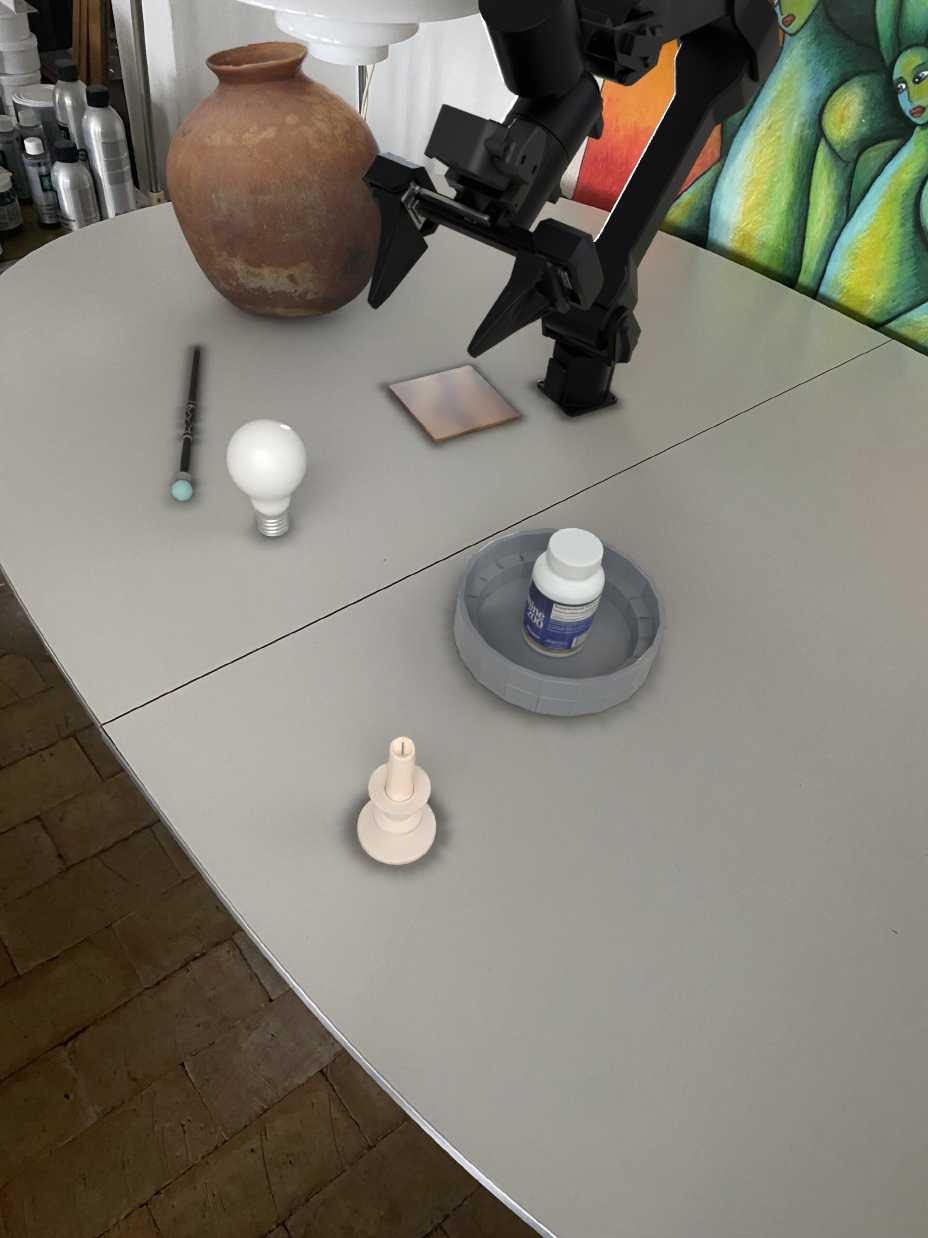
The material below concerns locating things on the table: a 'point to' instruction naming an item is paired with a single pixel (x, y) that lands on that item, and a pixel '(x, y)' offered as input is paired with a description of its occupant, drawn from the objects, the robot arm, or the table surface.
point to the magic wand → (187, 439)
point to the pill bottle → (564, 593)
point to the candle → (398, 809)
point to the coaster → (453, 403)
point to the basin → (543, 682)
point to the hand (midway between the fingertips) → (419, 329)
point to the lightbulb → (267, 469)
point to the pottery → (276, 186)
